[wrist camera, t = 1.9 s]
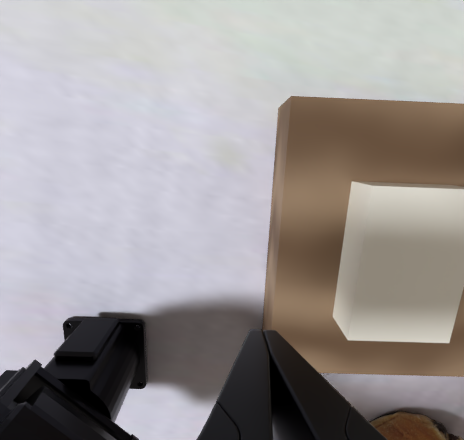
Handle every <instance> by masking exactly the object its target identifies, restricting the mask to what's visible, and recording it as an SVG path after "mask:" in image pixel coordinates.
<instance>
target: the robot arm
mask: <svg viewBox="0 0 464 440" xmlns="http://www.w3.org/2000/svg"><path fill="white" fill-rule="evenodd" d="M69 323H70V324H72V326H71V325H70V324H69ZM136 325H139V326H140V328H138V327H137V326H136ZM63 330H64V339H65V341H64V343H63V344H62V345H61V346H60V347H59V348H58V349H57V350H56V352H55V353H54V357H53V359H52V360H51V361H50V362H49V363H48V364H47V365H46V367H45V368H42V367H41V365H42V364H40V363H39V362H38V361H37V360H34V361H33V362H32V363H31V364H30V365H29V366H28V367H26V368H24V367H22V368H21V369H19V370H18V371H12V370H6V371H5V372H4V373H3V374H2V375H1V376H0V440H139V439H138V438H137V437H135V436H134V435H133V434H132V435H130V434H128V433H127V432H126V431H125V430H123V429H122V428H121V427H119V426H118V425H117V424H115V423H114V422H115V420H116V418H117V415H118V413H119V411H120V408H121V406H122V404H123V401H124V399H125V397H126V395H127V392H128V390H129V389H143V388H145V386H146V384H147V359H146V334H145V323H144V322H143V321H142V320H135V319H116V318H91V317H87V318H68V319H67V320H66V321H65V322H64V323H63ZM140 382H142V383H140ZM197 440H388V439H387V438H385V437H384V436H383V435H382V434H381V433H380V432H379V431H378V430H377V429H376V428H375V427H374V426H373V425H372V424H370V423H369V422H368V421H367V420H366V419H365V418H364V417H363V416H362V415H361V414H360V413H359V412H358V411H357V410H356V409H355V408H354V407H351V404H350V403H349V402H348V401H347V400H346V399H345V398H344V397H343V396H342V395H341V394H340V393H339V392H338V391H337V390H336V389H335V388H334V387H333V386H332V385H331V384H330V383H329V382H328V381H327V380H326V379H325V378H324V377H323V376H322V375H321V374H320V373H319V372H318V371H317V370H316V369H315V368H314V367H313V366H312V365H311V364H310V363H309V362H308V361H307V360H305V359H304V358H303V357H302V356H301V355H300V354H299V353H298V352H297V351H296V350H295V349H294V348H293V347H292V346H291V345H290V344H289V343H288V342H287V341H286V340H285V339H284V338H283V337H282V336H281V335H280V334H279V333H278V332H277V331H276V330H264V331H262V330H257V329H251V330H250V331H249V332H248V335H247V337H246V339H245V341H244V343H243V345H242V347H241V350H240V352H239V354H238V356H237V358H236V360H235V362H234V365H233V367H232V369H231V371H230V373H229V375H228V377H227V380H226V382H225V384H224V386H223V388H222V390H221V393H220V395H219V397H218V399H217V401H216V404H215V405H214V407H213V409H212V411H211V414H210V416H209V418H208V420H207V422H206V424H205V425H204V427H203V429H202V431H201V433H200V435H199V436H198V438H197Z"/></svg>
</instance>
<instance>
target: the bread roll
mask: <svg viewBox="0 0 464 440" xmlns="http://www.w3.org/2000/svg"><path fill="white" fill-rule="evenodd" d="M369 423H370V424H372V425H373V426H374V427H375V428H376V429H377V430H378V431H379V432H380V433H381V434H382V435H383V436H384V437H385V438H387V439H388V440H464V439H462V438H461V437H460V436H458V437H457V436H454V435H453V434H448V433H447V430H446V428H445V426H444V425H443V424H442V423H438V422H436V421H435V420H432V419H429V418H428V417H427V416H425V415H421V414H412V413H408V412H404V411H397V412H396V413H394V414H391V415H386V416H381V417H380V418H377V419H375V420H373V421H371V422H369Z"/></svg>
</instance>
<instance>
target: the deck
mask: <svg viewBox="0 0 464 440" xmlns="http://www.w3.org/2000/svg"><path fill="white" fill-rule="evenodd" d="M352 181H359V182H385V183H411V184H436V185H455V186H462V187H464V104H457V103H434V102H412V101H389V100H367V99H344V98H321V97H299V96H291V97H290V98H289V99H288V100H287V101H286V102H285V103H283V104H282V105H281V106H280V107H279V108H278V122H277V135H276V149H275V162H274V176H273V189H272V203H271V216H270V230H269V243H268V257H267V270H266V283H265V297H264V310H263V324H262V331H264V330H276V331H277V332H278V333H279V334H280V335H281V336H282V337H283V338H284V339H285V340H286V341H287V342H288V343H289V344H290V345H291V346H292V347H293V348H294V349H295V350H296V351H297V352H298V353H299V354H300V355H301V356H302V357H303V358H304V359H305V360H307V361H308V362H309V363H310V364H311V365H312V366H313V367H314V368H315V369H316V370H317V371H318V372H319V373H344V374H382V375H420V376H458V377H464V288H463V292H462V296H461V300H460V304H459V308H458V311H457V315H456V319H455V323H454V327H453V330H452V334H451V338H450V342H449V343H424V342H389V341H354V340H347V338H346V337H345V335H344V334H343V332H342V331H341V329H340V327H339V326H338V324H337V323H336V321H335V319H334V318H333V310H334V303H335V296H336V289H337V282H338V275H339V268H340V260H341V253H342V246H343V239H344V232H345V225H346V218H347V211H348V204H349V197H350V190H351V183H352Z"/></svg>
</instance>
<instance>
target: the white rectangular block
mask: <svg viewBox="0 0 464 440" xmlns="http://www.w3.org/2000/svg"><path fill="white" fill-rule="evenodd" d="M463 288H464V187H462V186H455V185H436V184H411V183H385V182H359V181H352V183H351V190H350V197H349V204H348V211H347V218H346V225H345V232H344V239H343V246H342V253H341V260H340V268H339V275H338V282H337V289H336V296H335V303H334V310H333V318H334V319H335V321H336V323H337V324H338V326H339V327H340V329H341V331H342V332H343V334H344V335H345V337H346V338H347V340H354V341H389V342H424V343H449V342H450V338H451V334H452V330H453V327H454V323H455V319H456V315H457V311H458V308H459V304H460V300H461V296H462V292H463Z"/></svg>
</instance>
